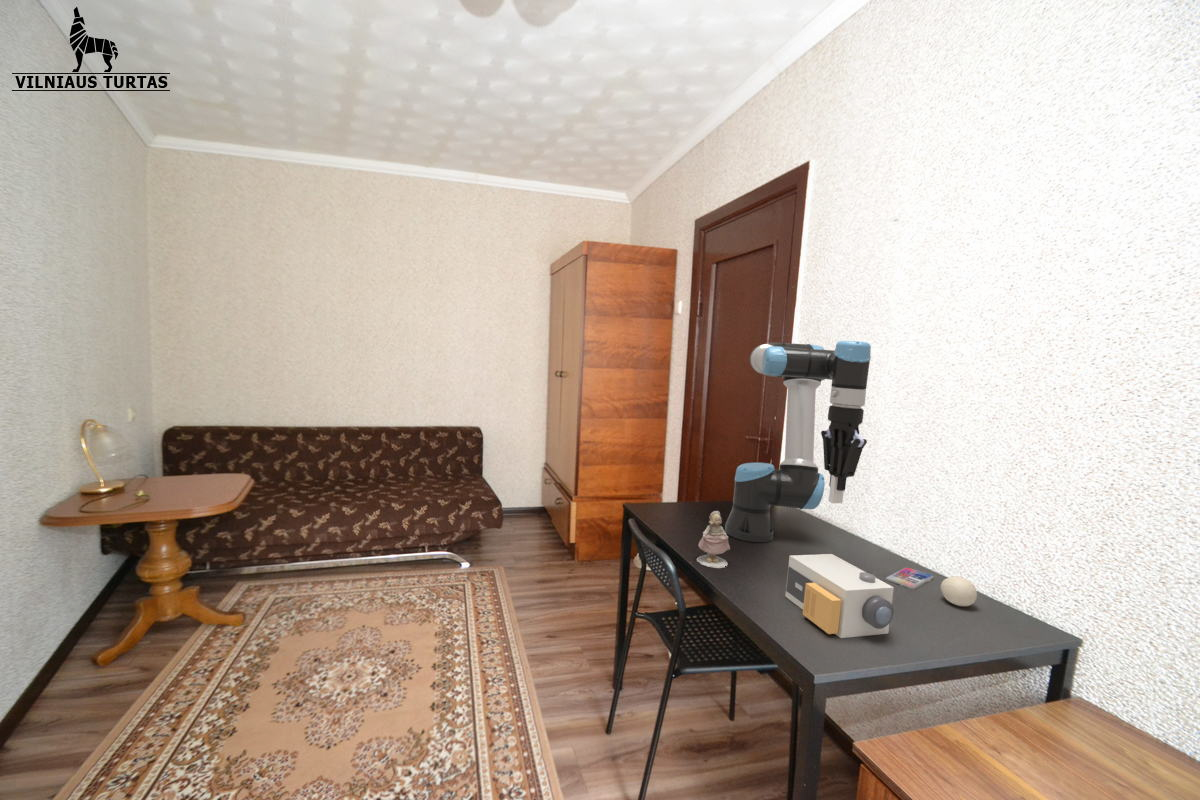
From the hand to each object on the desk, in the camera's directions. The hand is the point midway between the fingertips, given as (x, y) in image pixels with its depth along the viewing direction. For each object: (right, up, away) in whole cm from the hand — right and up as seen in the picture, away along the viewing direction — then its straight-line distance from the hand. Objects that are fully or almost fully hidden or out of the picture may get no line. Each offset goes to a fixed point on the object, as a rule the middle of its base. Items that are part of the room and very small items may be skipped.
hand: (835, 502), depth 120 cm
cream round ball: (+30, -25, 0) cm, 39 cm away
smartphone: (+27, -24, +14) cm, 39 cm away
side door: (-11, -23, -16) cm, 30 cm away
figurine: (-28, -20, +15) cm, 37 cm away
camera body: (-5, -23, -11) cm, 26 cm away
